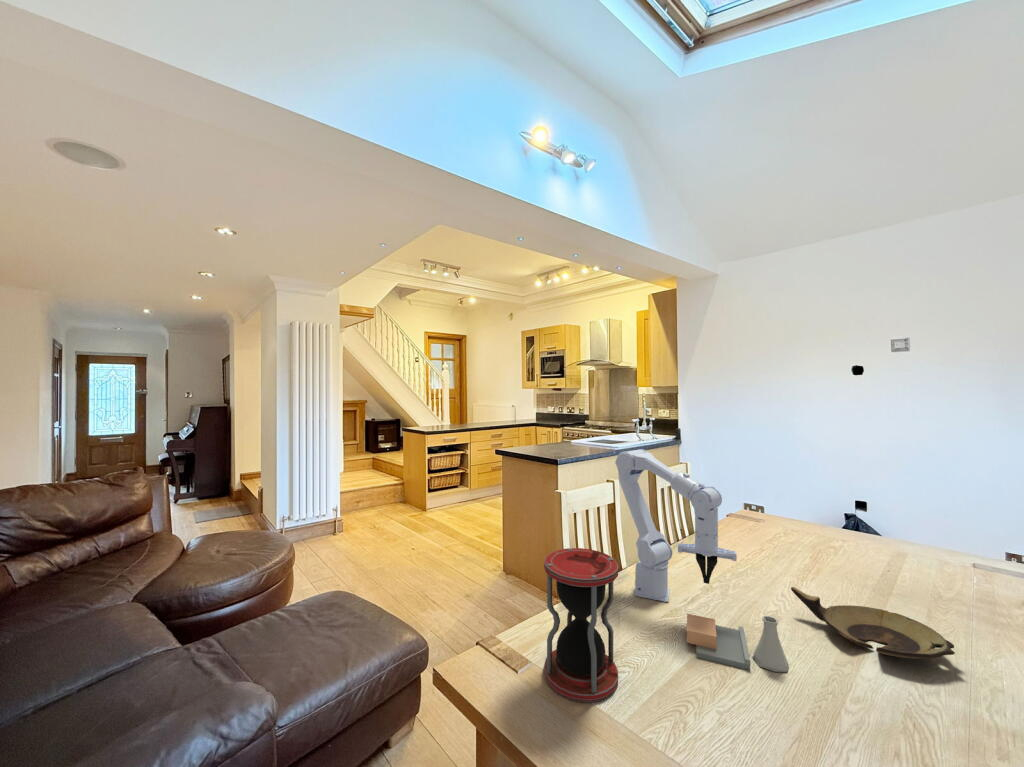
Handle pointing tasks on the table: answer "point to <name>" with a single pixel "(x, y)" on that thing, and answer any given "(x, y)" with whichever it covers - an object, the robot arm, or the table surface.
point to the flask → (770, 648)
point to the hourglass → (581, 625)
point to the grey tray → (727, 648)
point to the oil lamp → (880, 629)
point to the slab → (701, 631)
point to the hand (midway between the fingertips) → (706, 581)
